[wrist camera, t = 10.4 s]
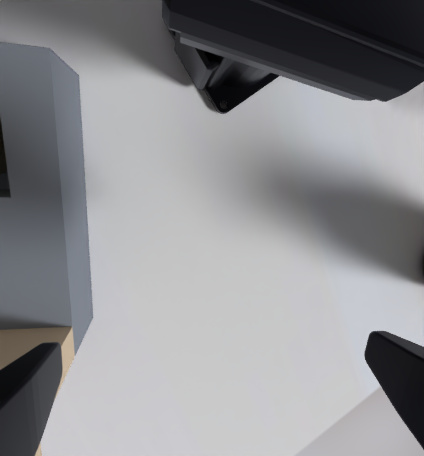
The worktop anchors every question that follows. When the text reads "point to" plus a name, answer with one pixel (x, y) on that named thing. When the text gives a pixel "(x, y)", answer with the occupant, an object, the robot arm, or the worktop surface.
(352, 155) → the worktop surface
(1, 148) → the peg
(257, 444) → the worktop surface
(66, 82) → the socket block
